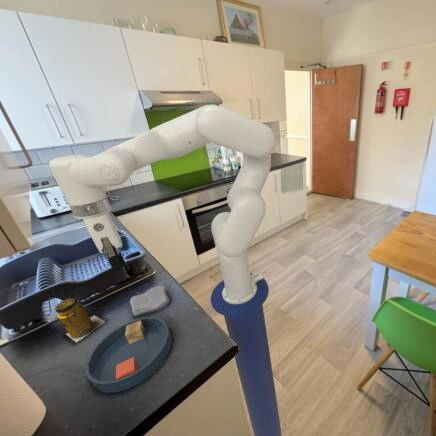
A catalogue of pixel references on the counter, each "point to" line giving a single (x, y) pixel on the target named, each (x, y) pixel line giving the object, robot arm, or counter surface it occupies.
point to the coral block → (126, 368)
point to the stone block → (149, 301)
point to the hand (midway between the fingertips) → (119, 266)
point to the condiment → (76, 319)
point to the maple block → (135, 332)
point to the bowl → (128, 355)
